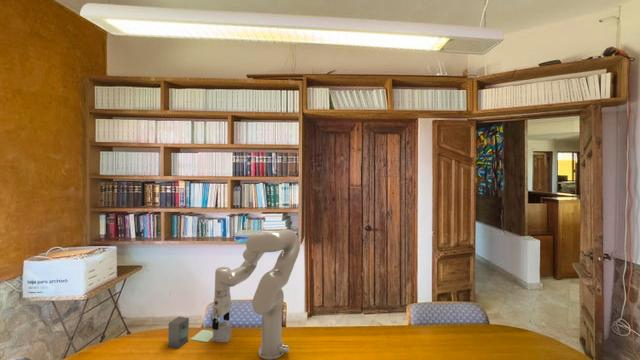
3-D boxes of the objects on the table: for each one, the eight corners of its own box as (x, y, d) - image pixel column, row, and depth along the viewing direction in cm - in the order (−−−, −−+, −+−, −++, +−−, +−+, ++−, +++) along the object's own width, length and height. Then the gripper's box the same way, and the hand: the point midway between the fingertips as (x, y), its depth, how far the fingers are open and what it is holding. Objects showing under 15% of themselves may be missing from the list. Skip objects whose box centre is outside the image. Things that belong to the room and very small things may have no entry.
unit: (188, 341, 148) (189, 318, 148) (179, 349, 141) (179, 324, 141) (178, 339, 149) (178, 316, 150) (167, 347, 143) (168, 322, 143)
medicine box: (231, 338, 151) (231, 321, 151) (227, 343, 147) (227, 326, 147) (216, 337, 152) (216, 321, 152) (212, 342, 147) (212, 325, 147)
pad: (218, 332, 157) (218, 332, 157) (207, 342, 147) (207, 341, 147) (202, 330, 159) (202, 329, 159) (190, 339, 149) (190, 339, 149)
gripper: (218, 299, 140) (217, 334, 140) (237, 286, 157) (236, 318, 157) (205, 297, 142) (204, 331, 142) (225, 285, 159) (224, 315, 159)
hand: (220, 324), depth 150 cm, fingers open, 9 cm apart
